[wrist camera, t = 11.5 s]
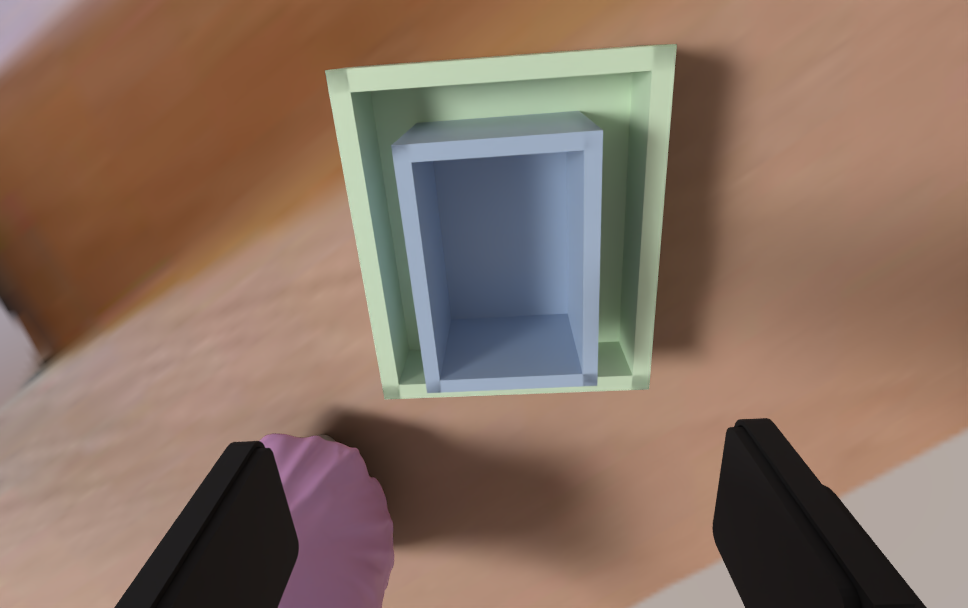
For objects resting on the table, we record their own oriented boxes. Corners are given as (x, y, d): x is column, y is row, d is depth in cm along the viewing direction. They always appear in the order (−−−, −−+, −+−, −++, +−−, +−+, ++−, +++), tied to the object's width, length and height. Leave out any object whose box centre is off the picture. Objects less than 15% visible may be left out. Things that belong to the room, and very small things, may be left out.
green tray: (630, 346, 28) (648, 389, 25) (398, 356, 29) (384, 399, 26) (648, 44, 22) (676, 44, 19) (352, 67, 23) (324, 70, 19)
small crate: (578, 318, 27) (597, 385, 22) (441, 325, 27) (427, 393, 22) (578, 110, 23) (603, 130, 17) (416, 122, 23) (391, 145, 18)
